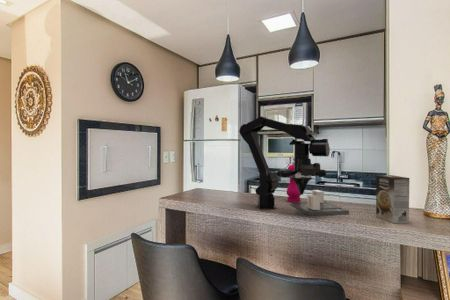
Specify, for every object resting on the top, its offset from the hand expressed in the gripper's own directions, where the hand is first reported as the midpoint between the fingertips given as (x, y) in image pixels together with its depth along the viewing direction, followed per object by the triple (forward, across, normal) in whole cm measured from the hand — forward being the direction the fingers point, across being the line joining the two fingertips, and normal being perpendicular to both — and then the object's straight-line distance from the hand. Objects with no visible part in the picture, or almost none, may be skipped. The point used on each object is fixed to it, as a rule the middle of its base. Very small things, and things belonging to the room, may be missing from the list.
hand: (301, 194), depth 102 cm
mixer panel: (+8, +10, +5) cm, 13 cm away
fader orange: (+6, +5, 0) cm, 8 cm away
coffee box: (+8, +29, -13) cm, 33 cm away
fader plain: (+6, +13, +12) cm, 19 cm away
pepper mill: (+8, +6, +23) cm, 25 cm away
